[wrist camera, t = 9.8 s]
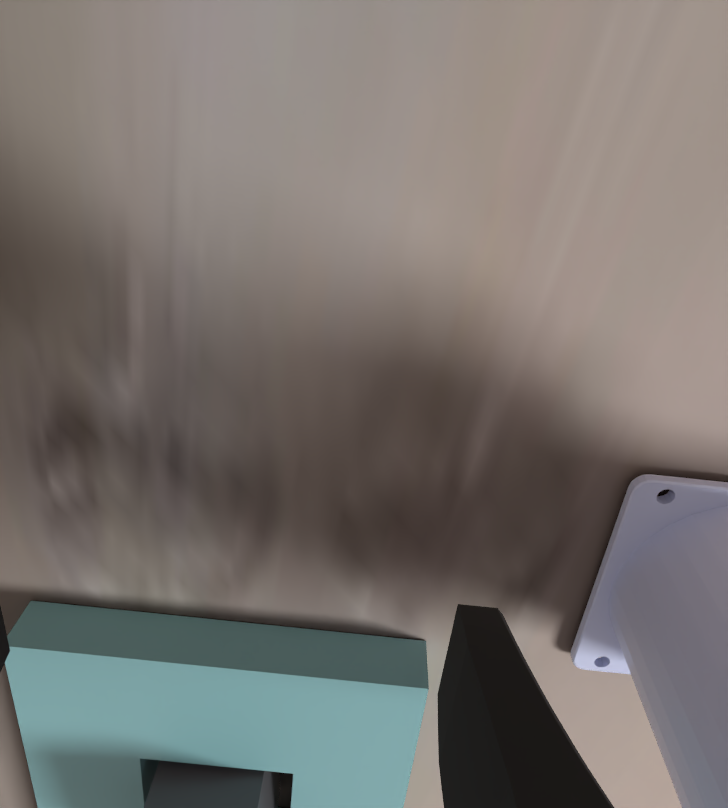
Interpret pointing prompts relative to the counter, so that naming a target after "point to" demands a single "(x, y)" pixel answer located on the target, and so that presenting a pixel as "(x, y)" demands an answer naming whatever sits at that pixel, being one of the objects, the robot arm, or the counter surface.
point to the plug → (212, 787)
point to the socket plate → (211, 705)
